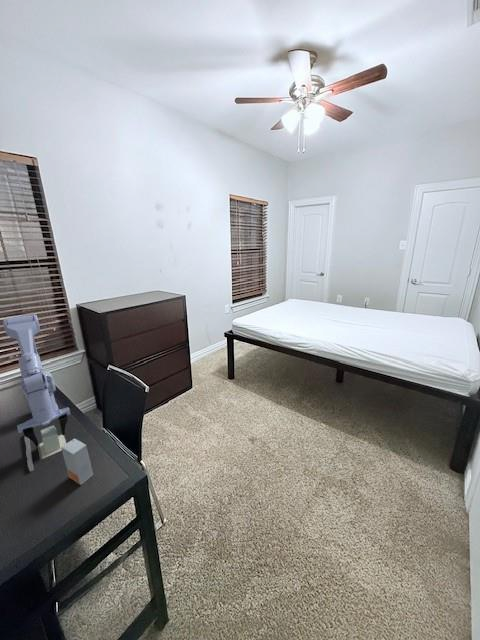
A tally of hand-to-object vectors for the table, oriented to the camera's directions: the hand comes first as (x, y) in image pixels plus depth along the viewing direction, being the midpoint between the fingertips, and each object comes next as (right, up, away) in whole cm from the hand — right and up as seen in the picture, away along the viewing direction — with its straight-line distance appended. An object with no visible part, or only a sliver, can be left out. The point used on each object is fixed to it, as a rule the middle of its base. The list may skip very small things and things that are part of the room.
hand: (50, 439), depth 93 cm
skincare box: (+18, -7, -11) cm, 22 cm away
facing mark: (0, -3, +1) cm, 3 cm away
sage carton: (0, -3, +1) cm, 3 cm away
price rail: (-7, -4, -1) cm, 8 cm away
